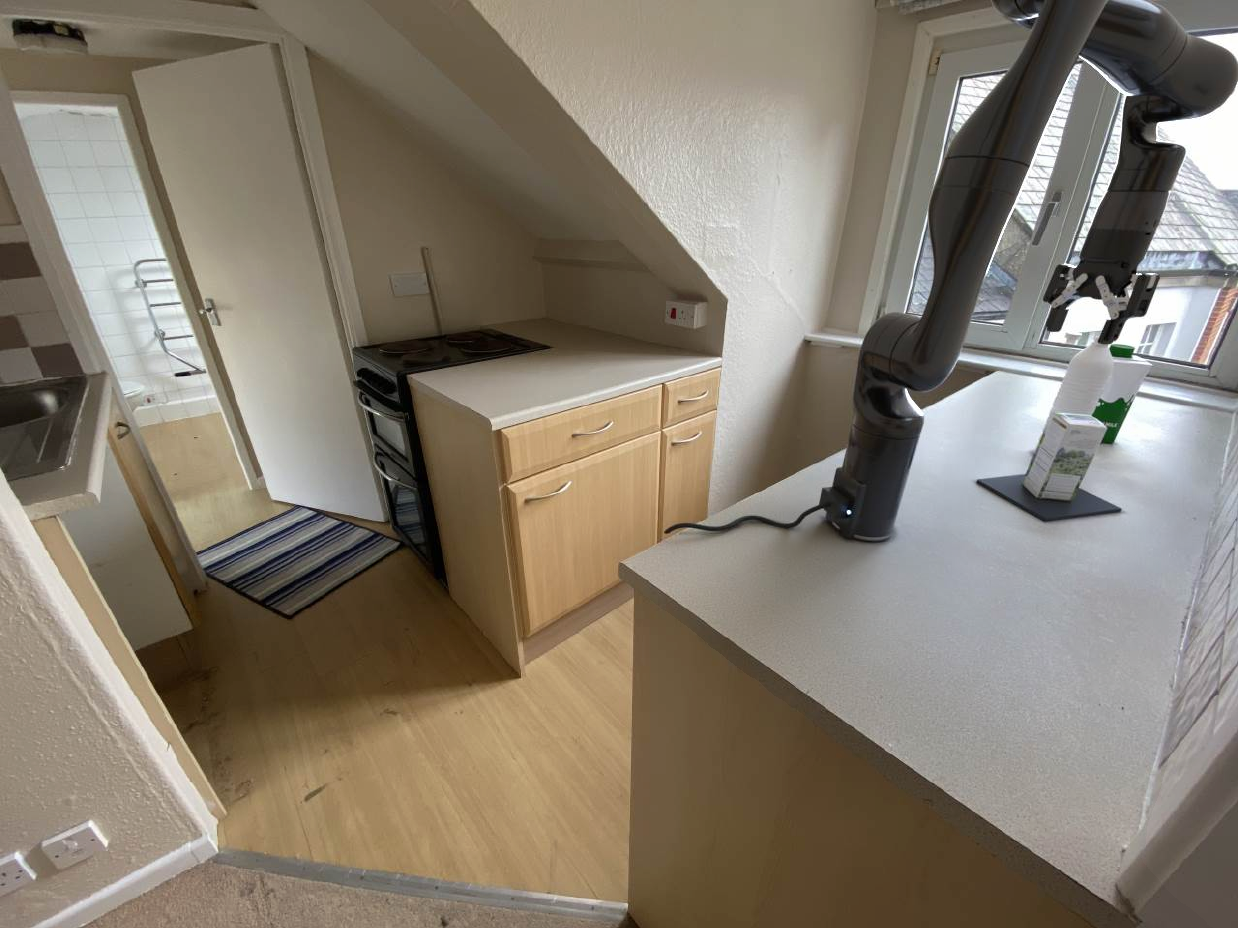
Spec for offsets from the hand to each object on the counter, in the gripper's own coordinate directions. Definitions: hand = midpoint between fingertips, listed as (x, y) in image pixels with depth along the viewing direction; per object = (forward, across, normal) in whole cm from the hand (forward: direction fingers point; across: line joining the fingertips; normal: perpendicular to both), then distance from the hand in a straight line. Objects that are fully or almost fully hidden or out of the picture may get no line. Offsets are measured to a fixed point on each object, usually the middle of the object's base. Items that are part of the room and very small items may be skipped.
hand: (1077, 337), depth 85 cm
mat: (+28, +3, +3) cm, 28 cm away
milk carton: (+28, -18, +39) cm, 51 cm away
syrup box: (+28, +3, +3) cm, 28 cm away
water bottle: (+28, -11, +19) cm, 36 cm away
